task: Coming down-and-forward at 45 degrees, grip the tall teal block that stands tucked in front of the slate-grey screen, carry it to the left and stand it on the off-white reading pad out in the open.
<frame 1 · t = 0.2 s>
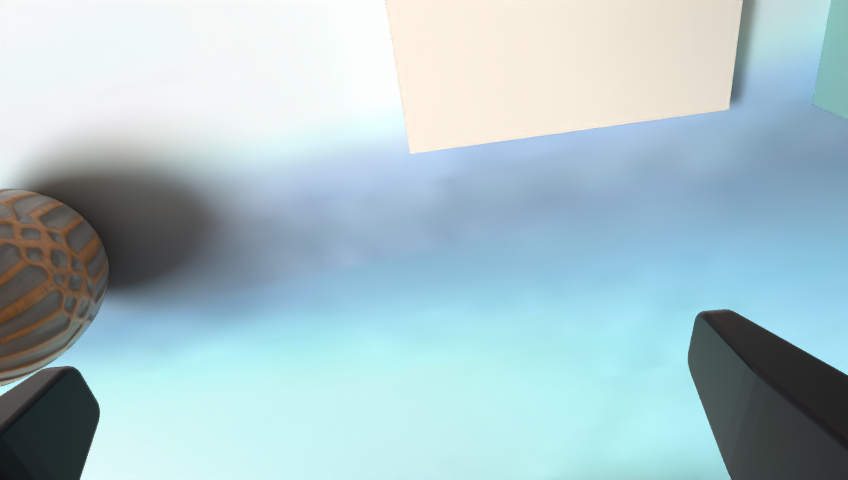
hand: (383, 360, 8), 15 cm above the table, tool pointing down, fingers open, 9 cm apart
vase: (55, 238, 24), on the table
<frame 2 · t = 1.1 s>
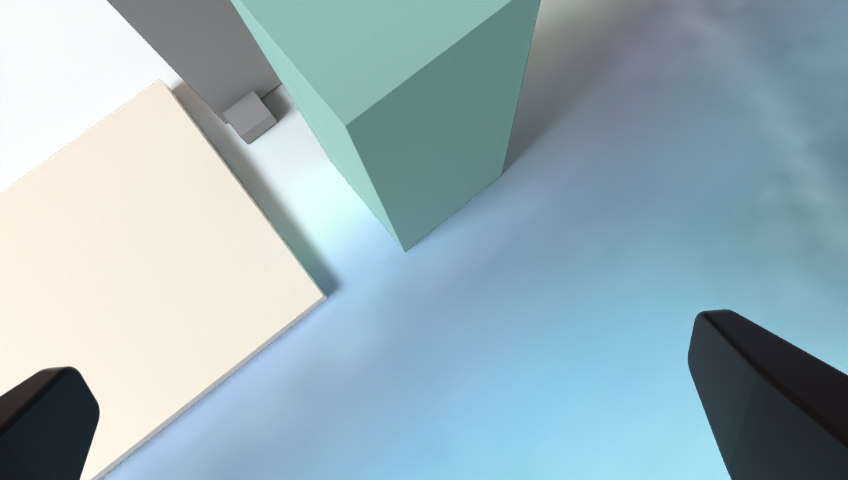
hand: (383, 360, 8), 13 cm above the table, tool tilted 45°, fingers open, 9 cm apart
teal block: (415, 170, 23), on the table
reading pad: (125, 276, 23), on the table
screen: (346, 20, 25), on the table
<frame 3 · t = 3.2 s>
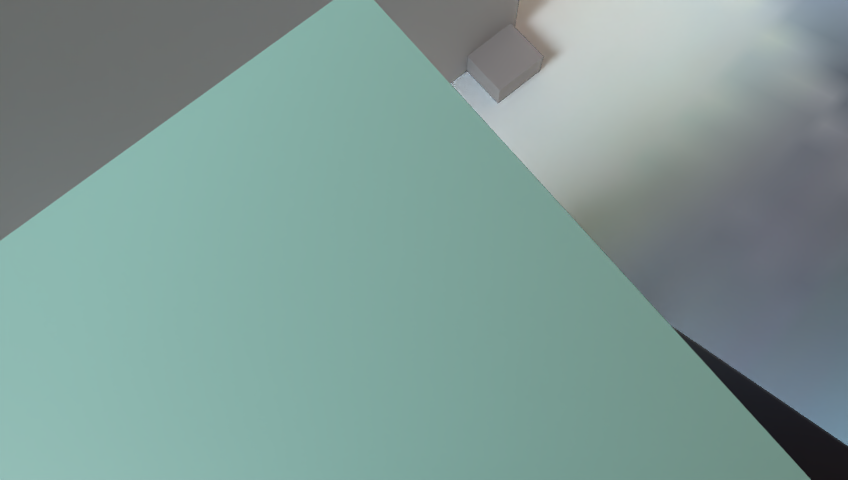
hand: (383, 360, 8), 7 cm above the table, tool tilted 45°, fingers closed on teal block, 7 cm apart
teal block: (422, 419, 14), on the table, touching gripper
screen: (314, 162, 16), on the table
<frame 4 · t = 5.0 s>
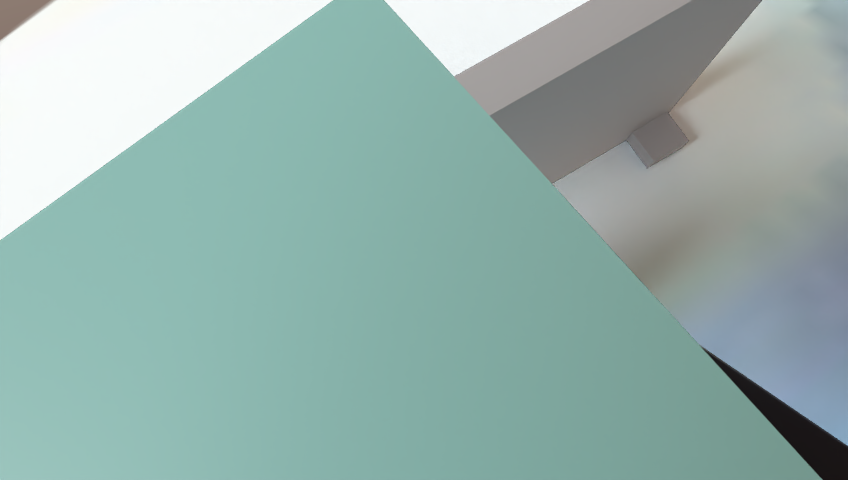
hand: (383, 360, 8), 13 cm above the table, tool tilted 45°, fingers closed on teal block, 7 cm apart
teal block: (423, 418, 14), point 6 cm above the table, touching gripper
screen: (507, 192, 22), on the table
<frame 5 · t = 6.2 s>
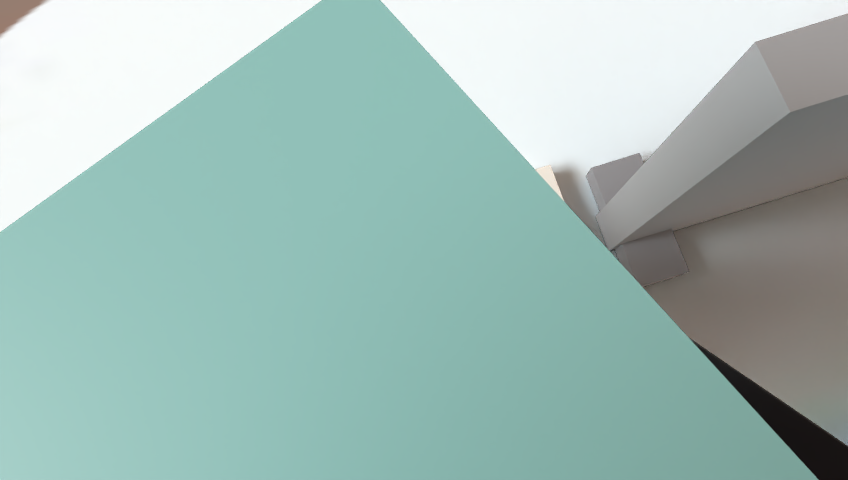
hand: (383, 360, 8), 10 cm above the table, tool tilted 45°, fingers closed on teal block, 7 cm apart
teal block: (421, 418, 14), point 3 cm above the table, touching gripper
reading pad: (426, 405, 17), on the table
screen: (807, 170, 18), on the table
when the fingers open (8 cm above the table, at t = 7.0 s): teal block stays where it is, resting on reading pad.
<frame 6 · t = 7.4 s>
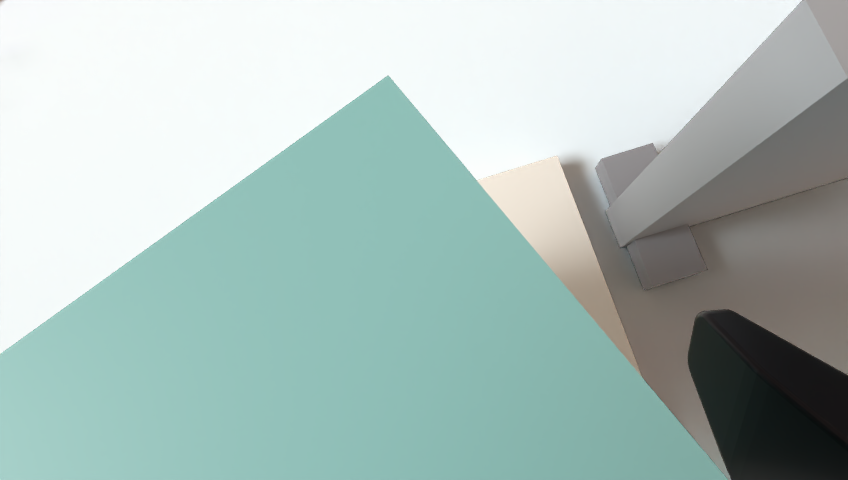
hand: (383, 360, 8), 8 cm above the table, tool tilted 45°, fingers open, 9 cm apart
teal block: (424, 418, 15), point 1 cm above the table, touching reading pad
reading pad: (425, 413, 16), on the table
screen: (832, 161, 17), on the table
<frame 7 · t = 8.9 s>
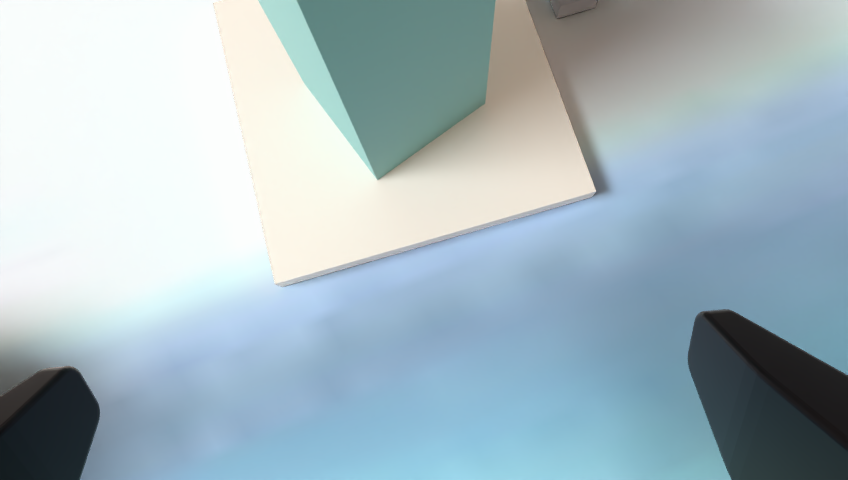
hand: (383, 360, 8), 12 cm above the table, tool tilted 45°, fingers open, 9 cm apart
teal block: (393, 93, 21), point 1 cm above the table, touching reading pad
reading pad: (394, 100, 22), on the table
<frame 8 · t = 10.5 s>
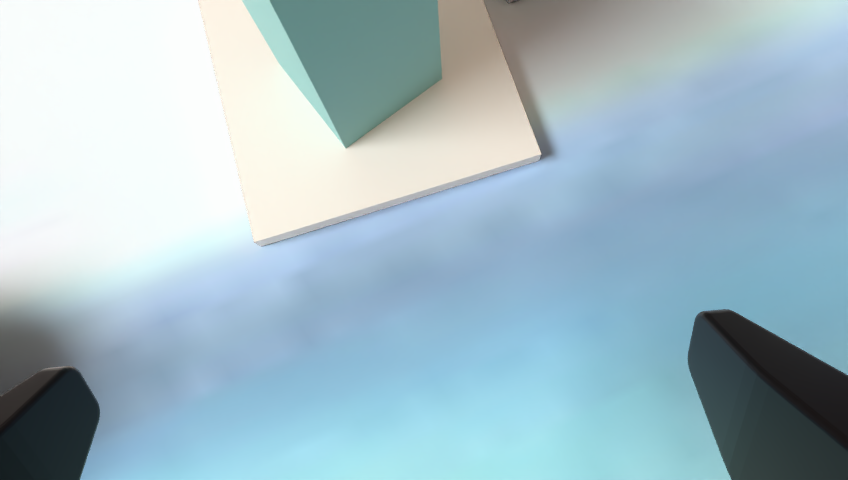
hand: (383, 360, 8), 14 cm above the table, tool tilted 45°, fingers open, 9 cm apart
teal block: (359, 71, 23), point 1 cm above the table, touching reading pad
reading pad: (362, 79, 24), on the table
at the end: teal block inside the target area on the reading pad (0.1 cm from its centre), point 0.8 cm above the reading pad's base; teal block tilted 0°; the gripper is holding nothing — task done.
